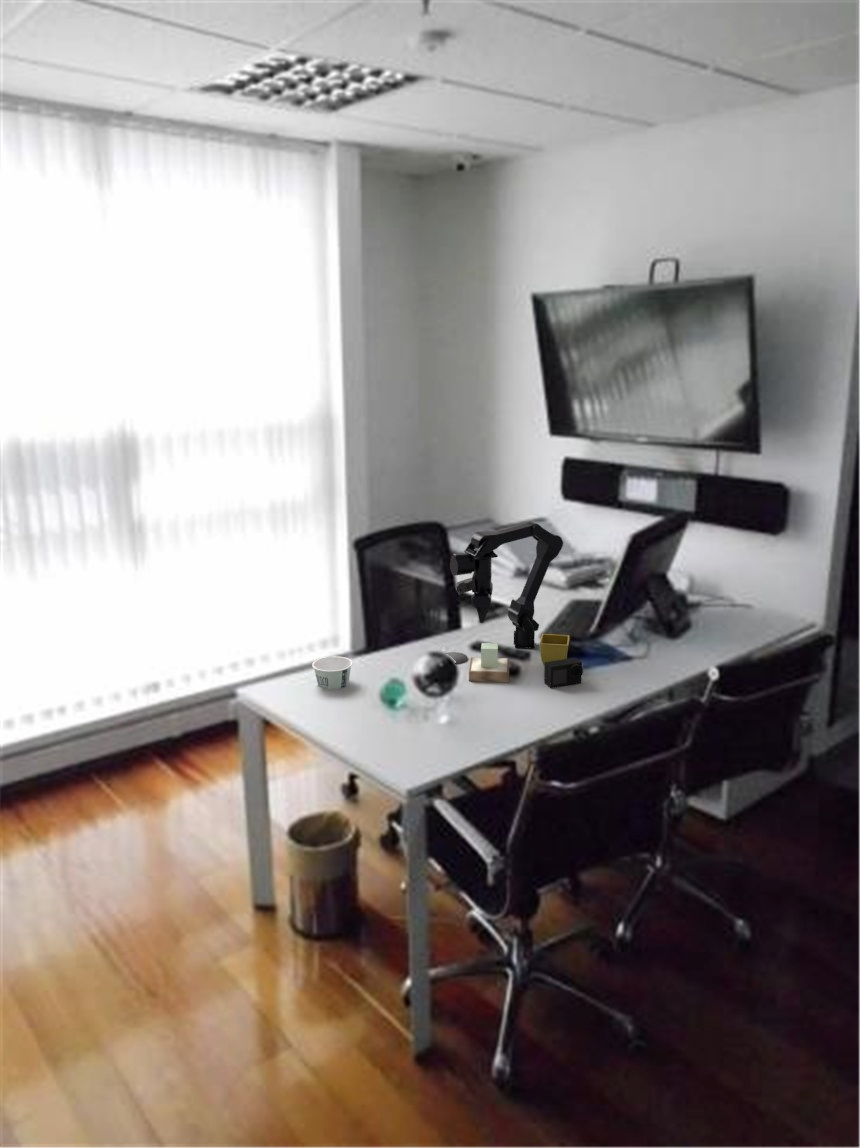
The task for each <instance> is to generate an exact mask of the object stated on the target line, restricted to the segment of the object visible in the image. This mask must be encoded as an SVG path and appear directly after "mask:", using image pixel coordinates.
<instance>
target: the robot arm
mask: <svg viewBox="0 0 860 1148" xmlns="http://www.w3.org/2000/svg"><path fill="white" fill-rule="evenodd" d="M530 537H532V538H533V539H534V540H535V541H536V547H535V548H536V549H535V551H536V555H535V556H536V557H535V559H534V562H533V565H532V566H531V570H530V572H529V574H528V577H527V579H526V581H525V585H524V586H523V589H522V591H521V593H520V596H519V597H518V598H517V599H514V598H513V599H511V600H510V604H509V607H508V608H507V611H508V612H507V616H508V619H509V621H510V622H511V623H512V625H513V626H515V629H514V630H513V645H514V648H515V649H535V648H536V646H535V645H536V644H535V634H536V633H535V632H537V631H539V627H540V624H539V623H538V622H537V621H536V620H535V619H534V616H535V601H536V598H537V597H538V594H539V591H540V589H541V586H542V583H543V581H544V578H545V576H546V574H547V572H548V570H549V567H550V563H551V562H552V561H553V560H554V559H555V558H557V557H558V556H559V554H560V552H561V550H562V549H563V546H564V541H563V539H562V537H561V536H560V535H557V534H554V533H552V532H549V531H548V530H547V529H545V528H544V527H542V526H541V525H540V524H539V523H535V522H533V521H528V522H527V523H523V524H520V525H519V524H518V525H515V526H512V527H508V528H504V529H499V530H485V531H482V530H481V531H476V532H474V533H473V535H472V536H471V539H470V542H469V543H468V545H467V546H466V548H465V549H464V551H463V553H453V554H452V557H451V559H450V562H449V569H450V572H451V574H452V575H453V576H454V577H455V576H462V575H463V576H464V575H469V574H470V575H471V574H472V573H473V574H472V577H470V578H466V579H463V580H459V581H457V582H456V583H455V589H456V592H457V593H458V595H459V596H460V595H461V596H462V595H463V594H466V593H469V592H471V593H473V594H472V595H471V599H470V601H471V602H470V605H471V606H472V607H474V608H475V609H476V612H477V617H478V620H479V623H481V624H483V623H484V622H485V619H486V617H487V616H488V613H489V611H490V609H491V606H492V594H493V591H494V589H493V587H494V584H493V582H492V576H493V575H492V559H494V558H498V557H499V556H498V554H496V552H495V550H497V549H499V547H500V546H502V545H504V544H508V543H512V542H516V541H518V540H519V541H520V540H523V539H527V538H530Z"/></svg>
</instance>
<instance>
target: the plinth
mask: <svg viewBox="0 0 860 1148" xmlns="http://www.w3.org/2000/svg"><path fill="white" fill-rule="evenodd" d="M468 681H469V682H492V683H509V682H510V658H508V657H498V666H497V668H492V667H481V657H472V656H471V657H470V661H469V669H468Z"/></svg>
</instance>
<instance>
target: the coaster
mask: <svg viewBox="0 0 860 1148" xmlns="http://www.w3.org/2000/svg"><path fill="white" fill-rule="evenodd" d="M444 653H445V654H448V655H449V656H451V657H452V658H453V659H454V660H455V661H456V663H457V664H456V665H458V664H463V663H465V662H467V661H468V656H467V654H465V653H462V652H457V651H450V652H444Z"/></svg>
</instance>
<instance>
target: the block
mask: <svg viewBox="0 0 860 1148" xmlns="http://www.w3.org/2000/svg"><path fill="white" fill-rule="evenodd" d="M480 658H481V667H492V668H497V666H498V658H499V643H498V642H497V643H496V642H493V643H492V642H481V647H480Z"/></svg>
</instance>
